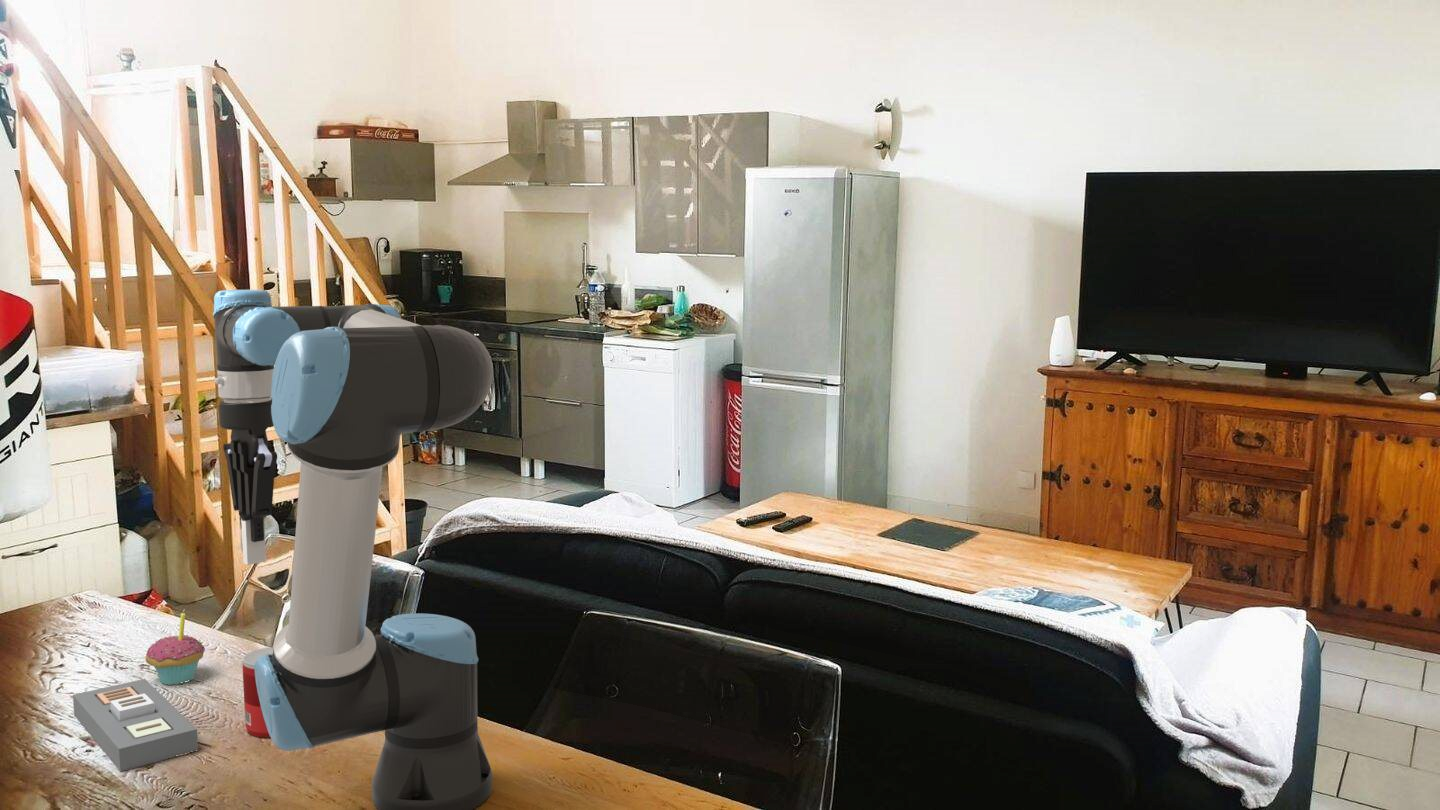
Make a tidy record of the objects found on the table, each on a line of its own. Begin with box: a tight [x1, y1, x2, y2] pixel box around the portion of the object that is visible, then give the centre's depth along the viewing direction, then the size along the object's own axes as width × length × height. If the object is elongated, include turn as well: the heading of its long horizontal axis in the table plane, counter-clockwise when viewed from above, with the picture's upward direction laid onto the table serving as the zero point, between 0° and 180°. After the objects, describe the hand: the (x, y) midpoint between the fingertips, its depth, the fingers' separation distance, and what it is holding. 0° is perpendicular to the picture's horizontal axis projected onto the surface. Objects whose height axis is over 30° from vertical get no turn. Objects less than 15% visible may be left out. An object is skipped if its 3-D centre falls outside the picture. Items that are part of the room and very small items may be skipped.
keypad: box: [72, 678, 199, 773], centre depth 169 cm, size 24×10×3 cm, turn 42°
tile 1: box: [126, 718, 172, 739], centre depth 163 cm, size 5×5×2 cm
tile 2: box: [110, 693, 155, 722], centre depth 169 cm, size 5×5×2 cm
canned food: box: [242, 646, 273, 739], centre depth 171 cm, size 8×8×11 cm
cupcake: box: [145, 608, 206, 685], centre depth 188 cm, size 9×8×12 cm
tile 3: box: [97, 687, 138, 705], centre depth 174 cm, size 5×5×2 cm
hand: (254, 562), depth 169 cm, fingers closed
